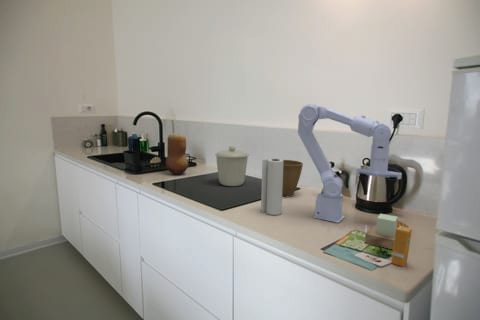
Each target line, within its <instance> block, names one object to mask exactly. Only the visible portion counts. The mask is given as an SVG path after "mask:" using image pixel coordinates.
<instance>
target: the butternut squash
mask: <svg viewBox="0 0 480 320" xmlns="http://www.w3.org/2000/svg"><path fill="white" fill-rule="evenodd" d="M186 138H187V137H186V136H185V135H184V134H179V133H170V134H169V135H168V137H167V156H166V159H165V167H166V169H167V170H168V172H169V173H171V174H173V175H174V174H175V176H179V175H181V174H183V173H185V172H187V169H188V167H189V160H188V157H187V155H186V150H187V139H186Z"/></svg>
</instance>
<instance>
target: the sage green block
mask: <svg viewBox="0 0 480 320" xmlns="http://www.w3.org/2000/svg"><path fill="white" fill-rule="evenodd" d="M398 217H399V216H395V215H390V214H384V213H379V215H378V217H377V218H376V225H377V226H376V233H377V234H381V235H386V236H390V237H394V235H395V232H396V229H397V220H398V221H399V219H398Z"/></svg>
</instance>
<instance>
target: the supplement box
mask: <svg viewBox="0 0 480 320" xmlns="http://www.w3.org/2000/svg"><path fill="white" fill-rule="evenodd" d="M411 236H412V228H410V227H408V228H407V227H404V226H399V227H398V228H397V229H396V232H395V239H394V246H393V250H392V254H391V255H392V256H391V260H390V261H391V262H390V263H391V264H394V265H395V266H399V267H402V268H404V267H405V266H406V264H408V263H407V262H408V258H409V249H410V244H411Z"/></svg>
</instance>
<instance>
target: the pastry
mask: <svg viewBox="0 0 480 320" xmlns="http://www.w3.org/2000/svg"><path fill="white" fill-rule="evenodd" d="M399 226H404V227H407V228H409V225H407V224H406V223H405V222H401V221H399V219H398V220H397V228H398V227H399Z"/></svg>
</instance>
